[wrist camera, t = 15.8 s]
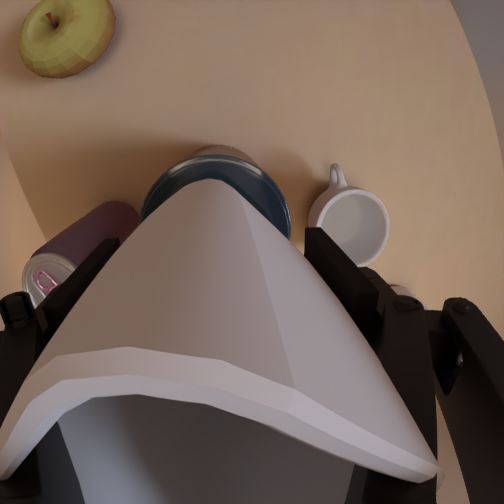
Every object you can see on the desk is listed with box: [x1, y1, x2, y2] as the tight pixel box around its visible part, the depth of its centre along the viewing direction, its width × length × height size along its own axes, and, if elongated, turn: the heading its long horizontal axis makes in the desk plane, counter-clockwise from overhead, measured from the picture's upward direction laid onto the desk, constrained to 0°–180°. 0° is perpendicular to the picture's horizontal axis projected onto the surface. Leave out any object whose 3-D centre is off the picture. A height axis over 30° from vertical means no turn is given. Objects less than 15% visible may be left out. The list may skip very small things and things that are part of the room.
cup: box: [0, 179, 445, 504], centre depth 10 cm, size 7×7×15 cm
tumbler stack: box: [139, 145, 291, 241], centre depth 25 cm, size 9×9×14 cm
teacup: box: [308, 164, 389, 267], centre depth 31 cm, size 10×8×5 cm
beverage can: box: [22, 201, 140, 310], centre depth 25 cm, size 6×6×15 cm
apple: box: [19, 0, 116, 78], centre depth 20 cm, size 10×10×8 cm
